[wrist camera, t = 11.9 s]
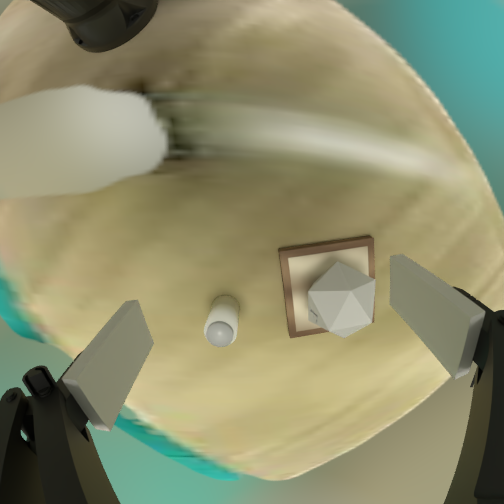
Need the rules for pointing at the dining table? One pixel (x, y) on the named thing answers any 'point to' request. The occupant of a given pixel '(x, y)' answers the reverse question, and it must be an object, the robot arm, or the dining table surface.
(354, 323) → the die
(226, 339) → the shaker
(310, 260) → the board
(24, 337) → the dining table surface
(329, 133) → the dining table surface
